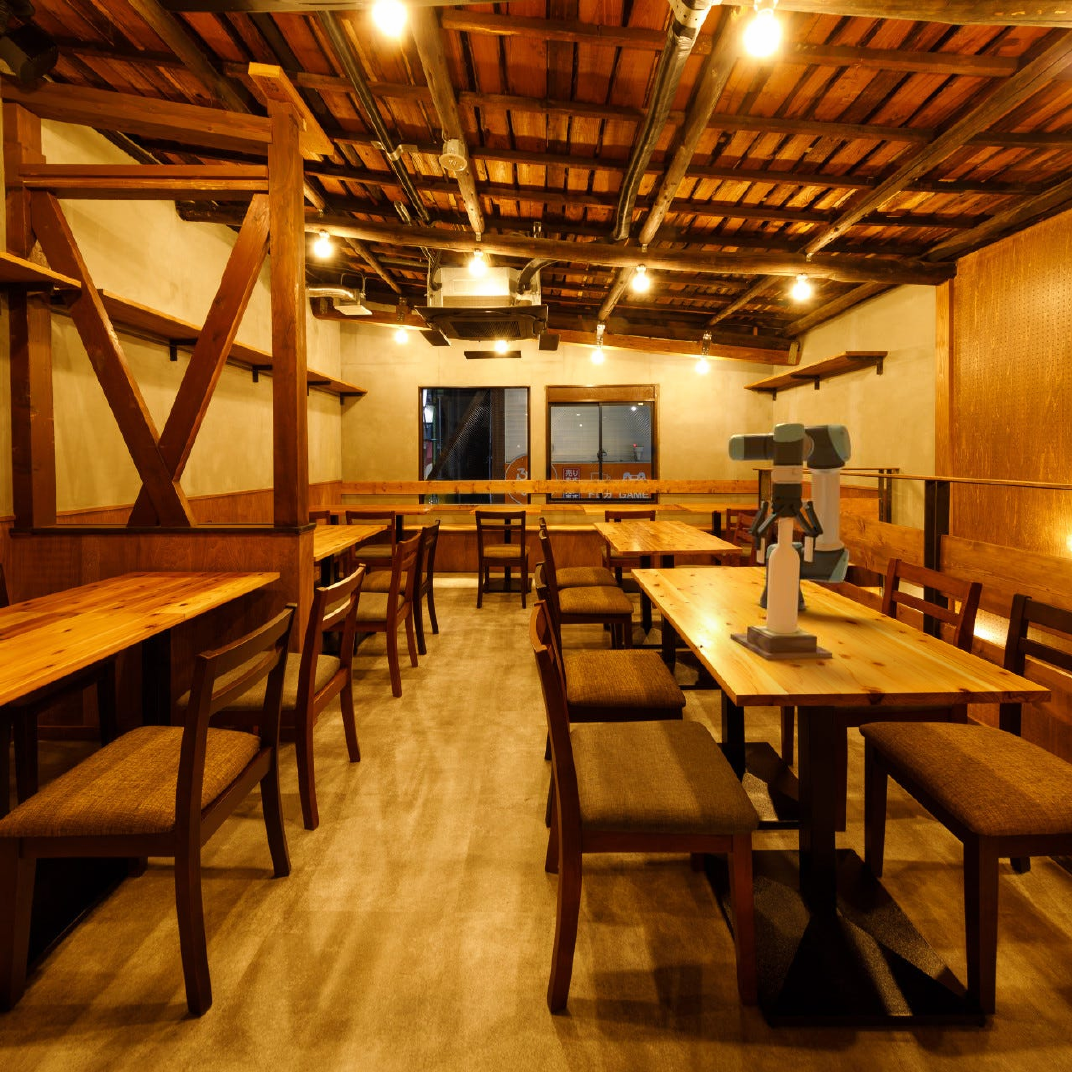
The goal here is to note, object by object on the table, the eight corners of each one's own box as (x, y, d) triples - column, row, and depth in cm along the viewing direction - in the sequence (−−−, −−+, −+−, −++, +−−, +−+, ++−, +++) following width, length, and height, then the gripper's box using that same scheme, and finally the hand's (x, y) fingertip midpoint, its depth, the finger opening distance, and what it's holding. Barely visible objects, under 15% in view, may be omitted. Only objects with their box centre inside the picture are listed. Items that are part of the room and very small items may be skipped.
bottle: (782, 635, 166) (787, 521, 163) (759, 628, 173) (763, 519, 170) (803, 631, 169) (808, 520, 166) (780, 625, 176) (784, 518, 173)
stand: (730, 637, 184) (730, 619, 184) (788, 636, 186) (789, 617, 186) (766, 659, 163) (767, 638, 162) (832, 657, 165) (833, 636, 164)
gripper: (748, 483, 162) (746, 565, 164) (839, 482, 165) (836, 562, 167) (736, 482, 169) (734, 560, 172) (823, 481, 172) (819, 558, 175)
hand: (784, 561), depth 169 cm, fingers open, 13 cm apart
